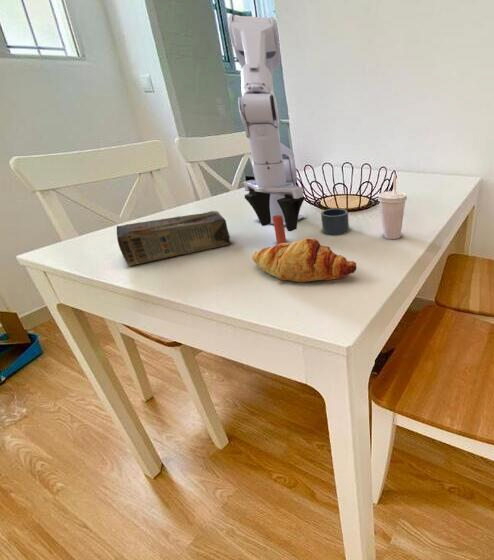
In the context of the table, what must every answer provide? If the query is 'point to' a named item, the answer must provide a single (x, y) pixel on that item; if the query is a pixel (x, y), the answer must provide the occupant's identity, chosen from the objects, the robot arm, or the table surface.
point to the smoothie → (392, 211)
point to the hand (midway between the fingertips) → (279, 227)
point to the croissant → (303, 261)
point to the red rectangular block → (279, 229)
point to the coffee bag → (171, 237)
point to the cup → (335, 221)
